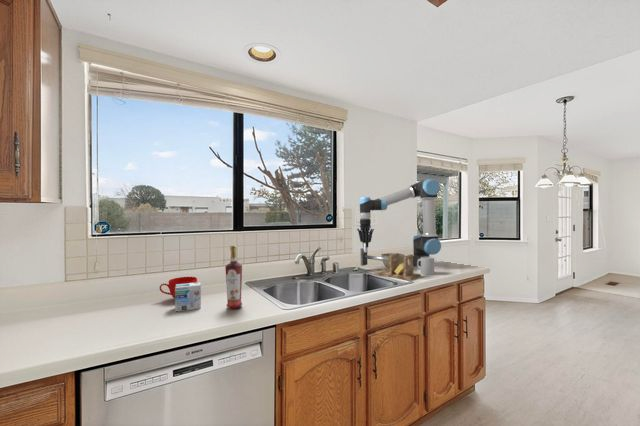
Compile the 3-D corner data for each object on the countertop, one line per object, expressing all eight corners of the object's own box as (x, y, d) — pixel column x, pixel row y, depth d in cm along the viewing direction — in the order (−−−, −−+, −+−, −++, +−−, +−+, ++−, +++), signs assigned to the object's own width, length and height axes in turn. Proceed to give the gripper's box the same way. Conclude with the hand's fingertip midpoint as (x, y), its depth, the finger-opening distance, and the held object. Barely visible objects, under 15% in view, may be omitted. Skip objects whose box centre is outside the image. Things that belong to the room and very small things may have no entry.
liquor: (244, 304, 139) (243, 244, 138) (240, 310, 131) (239, 246, 131) (228, 305, 138) (227, 244, 138) (223, 310, 131) (222, 246, 131)
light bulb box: (175, 312, 130) (174, 287, 130) (175, 307, 136) (175, 284, 136) (201, 308, 134) (201, 284, 134) (200, 304, 140) (200, 281, 140)
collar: (402, 272, 196) (408, 265, 193) (397, 274, 191) (403, 267, 188) (399, 269, 198) (405, 262, 195) (394, 271, 193) (400, 263, 190)
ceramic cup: (160, 298, 150) (160, 279, 150) (197, 294, 157) (196, 275, 157) (158, 306, 139) (158, 284, 138) (198, 301, 146) (197, 280, 145)
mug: (436, 274, 199) (436, 257, 199) (429, 275, 193) (429, 258, 193) (421, 271, 208) (420, 255, 208) (413, 273, 203) (413, 256, 203)
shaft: (397, 268, 199) (396, 250, 198) (392, 269, 194) (392, 251, 194) (365, 264, 216) (365, 247, 216) (360, 265, 211) (360, 248, 211)
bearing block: (420, 276, 191) (420, 254, 191) (410, 280, 181) (410, 257, 181) (385, 271, 209) (385, 251, 209) (374, 274, 199) (373, 253, 199)
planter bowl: (409, 270, 213) (409, 254, 213) (394, 273, 204) (393, 257, 204) (392, 266, 226) (392, 252, 226) (377, 269, 217) (376, 254, 217)
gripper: (354, 218, 213) (355, 251, 214) (369, 219, 205) (370, 253, 205) (360, 218, 219) (361, 250, 219) (376, 218, 210) (376, 252, 210)
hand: (365, 252), depth 212 cm, fingers closed
